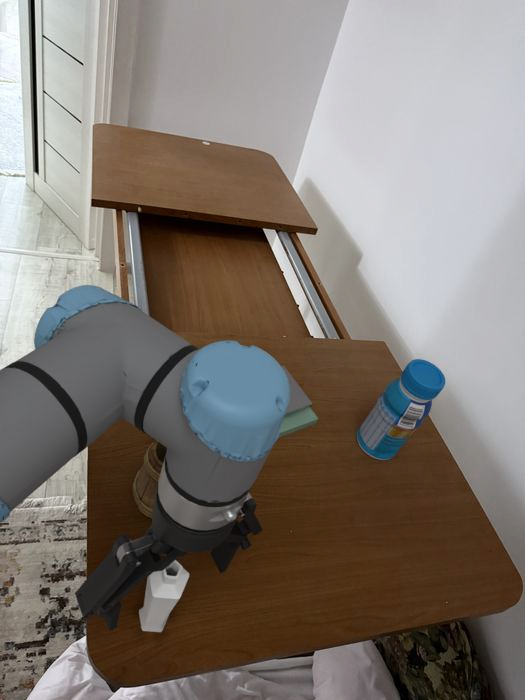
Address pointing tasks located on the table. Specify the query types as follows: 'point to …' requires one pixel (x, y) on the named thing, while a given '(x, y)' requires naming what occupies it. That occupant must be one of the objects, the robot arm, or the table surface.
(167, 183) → the table surface
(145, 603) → the white faceted vase
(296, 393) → the scale plate
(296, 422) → the scale
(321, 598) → the table surface
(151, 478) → the wooden mug
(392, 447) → the beverage bottle
